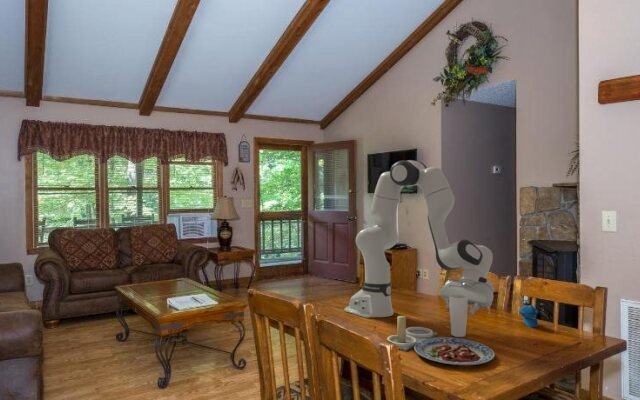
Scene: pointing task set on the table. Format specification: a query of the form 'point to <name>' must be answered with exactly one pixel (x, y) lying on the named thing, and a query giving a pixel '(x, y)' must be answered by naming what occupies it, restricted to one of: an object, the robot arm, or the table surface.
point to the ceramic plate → (454, 351)
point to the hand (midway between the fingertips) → (459, 311)
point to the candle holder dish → (409, 335)
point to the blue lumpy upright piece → (529, 315)
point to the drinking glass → (458, 314)
